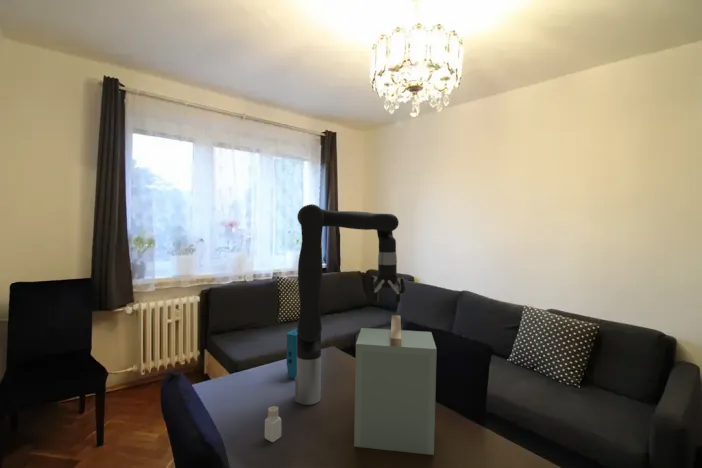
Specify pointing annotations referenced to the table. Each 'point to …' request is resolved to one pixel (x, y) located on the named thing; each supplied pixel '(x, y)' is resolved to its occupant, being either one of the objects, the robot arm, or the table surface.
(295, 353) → the block
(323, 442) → the table surface
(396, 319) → the slat
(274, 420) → the salt shaker
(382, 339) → the tall sage green box
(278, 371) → the table surface
